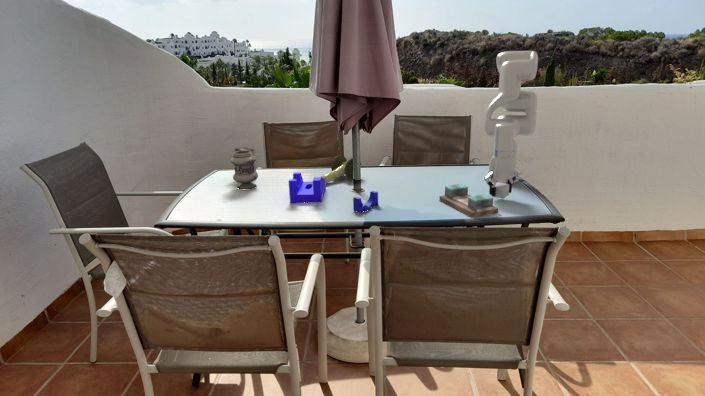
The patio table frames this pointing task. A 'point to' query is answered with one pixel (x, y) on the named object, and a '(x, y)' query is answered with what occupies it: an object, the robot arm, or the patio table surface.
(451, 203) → the board
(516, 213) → the patio table surface
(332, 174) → the cannon
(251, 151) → the grey brown jug
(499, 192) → the small box
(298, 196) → the bracket
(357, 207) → the blue u-shaped piece
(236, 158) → the apothecary jar
